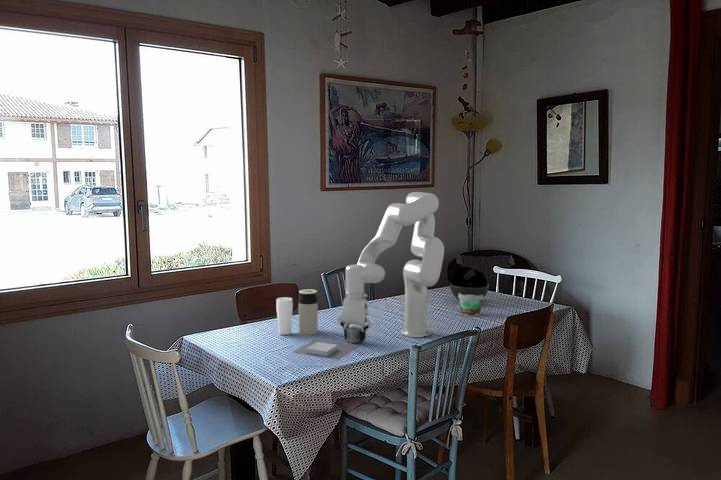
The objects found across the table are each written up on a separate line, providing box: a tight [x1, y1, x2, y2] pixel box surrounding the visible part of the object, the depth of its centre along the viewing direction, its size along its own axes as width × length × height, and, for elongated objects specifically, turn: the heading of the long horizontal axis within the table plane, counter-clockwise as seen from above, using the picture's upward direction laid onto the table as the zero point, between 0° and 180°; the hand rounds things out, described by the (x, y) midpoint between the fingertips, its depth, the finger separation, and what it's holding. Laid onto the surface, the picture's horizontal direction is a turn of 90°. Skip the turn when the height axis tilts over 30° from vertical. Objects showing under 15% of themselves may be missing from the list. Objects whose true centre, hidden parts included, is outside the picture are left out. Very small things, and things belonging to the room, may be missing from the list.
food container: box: [458, 292, 485, 315], centre depth 282 cm, size 12×6×10 cm, turn 68°
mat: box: [292, 339, 360, 361], centre depth 228 cm, size 20×18×1 cm
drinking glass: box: [275, 296, 294, 336], centre depth 248 cm, size 7×7×15 cm
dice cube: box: [344, 326, 361, 344], centre depth 237 cm, size 5×5×5 cm
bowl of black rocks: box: [449, 266, 490, 302], centre depth 305 cm, size 20×20×19 cm
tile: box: [306, 342, 338, 356], centre depth 224 cm, size 9×2×9 cm
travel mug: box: [298, 288, 319, 335], centre depth 250 cm, size 8×8×18 cm
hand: (354, 339), depth 237 cm, fingers closed on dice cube, 6 cm apart
